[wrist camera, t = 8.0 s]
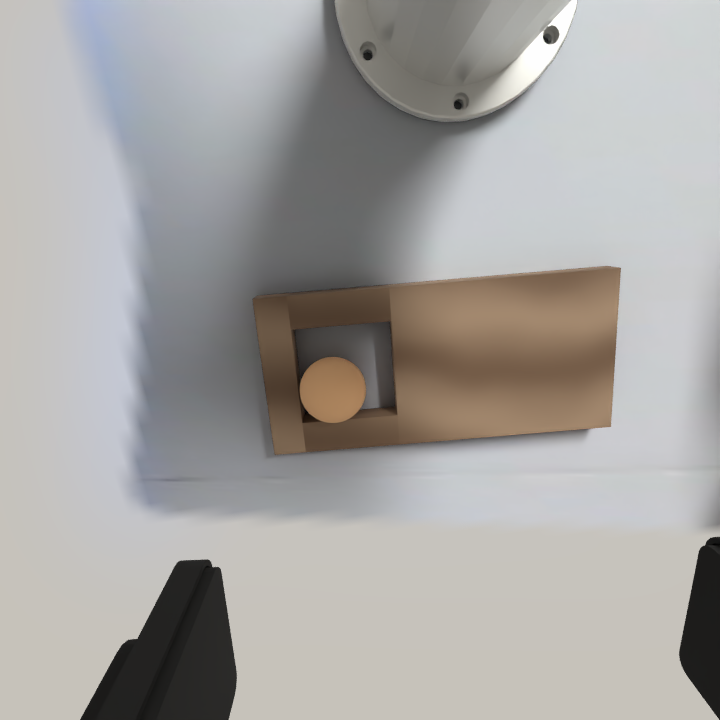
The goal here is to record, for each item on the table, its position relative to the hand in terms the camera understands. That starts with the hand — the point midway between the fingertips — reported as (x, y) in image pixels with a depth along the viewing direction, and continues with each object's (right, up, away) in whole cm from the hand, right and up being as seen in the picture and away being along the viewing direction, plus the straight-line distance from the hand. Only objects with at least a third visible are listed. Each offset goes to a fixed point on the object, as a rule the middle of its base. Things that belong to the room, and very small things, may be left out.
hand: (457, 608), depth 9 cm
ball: (-4, +3, +19) cm, 20 cm away
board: (+3, +5, +21) cm, 22 cm away
